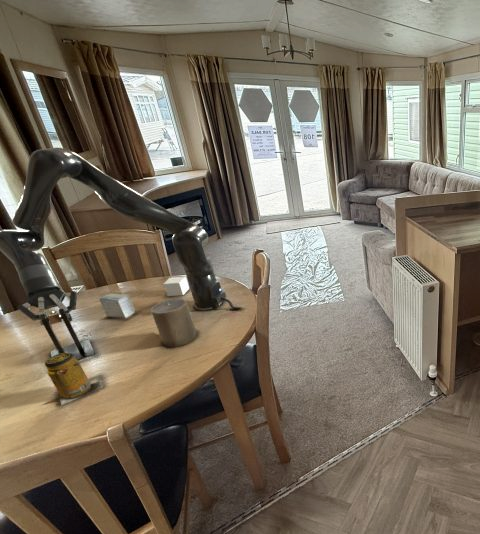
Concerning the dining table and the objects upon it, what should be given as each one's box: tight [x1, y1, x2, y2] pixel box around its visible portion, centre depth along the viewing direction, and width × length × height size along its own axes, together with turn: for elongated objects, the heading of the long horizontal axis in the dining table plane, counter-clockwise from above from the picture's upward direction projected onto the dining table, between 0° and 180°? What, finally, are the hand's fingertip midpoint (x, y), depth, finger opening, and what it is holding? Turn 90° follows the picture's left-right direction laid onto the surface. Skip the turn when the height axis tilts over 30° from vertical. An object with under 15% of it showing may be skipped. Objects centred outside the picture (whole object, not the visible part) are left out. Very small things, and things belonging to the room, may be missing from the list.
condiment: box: [44, 353, 104, 406], centre depth 93 cm, size 7×8×12 cm
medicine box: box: [99, 293, 137, 319], centre depth 128 cm, size 8×4×9 cm, turn 84°
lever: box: [47, 310, 63, 325], centre depth 107 cm, size 14×4×4 cm, turn 50°
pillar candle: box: [150, 298, 198, 348], centre depth 115 cm, size 10×10×15 cm
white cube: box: [162, 276, 190, 297], centre depth 147 cm, size 6×6×6 cm
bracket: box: [39, 308, 96, 361], centre depth 106 cm, size 12×9×16 cm
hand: (59, 324), depth 110 cm, fingers closed on lever, 3 cm apart
